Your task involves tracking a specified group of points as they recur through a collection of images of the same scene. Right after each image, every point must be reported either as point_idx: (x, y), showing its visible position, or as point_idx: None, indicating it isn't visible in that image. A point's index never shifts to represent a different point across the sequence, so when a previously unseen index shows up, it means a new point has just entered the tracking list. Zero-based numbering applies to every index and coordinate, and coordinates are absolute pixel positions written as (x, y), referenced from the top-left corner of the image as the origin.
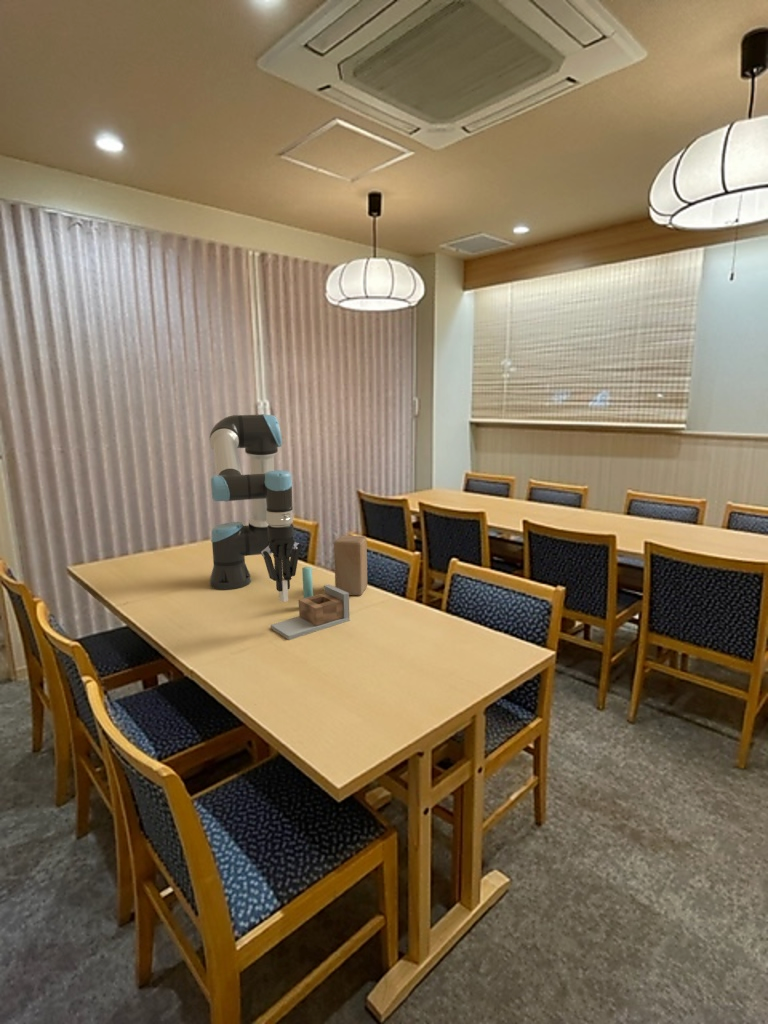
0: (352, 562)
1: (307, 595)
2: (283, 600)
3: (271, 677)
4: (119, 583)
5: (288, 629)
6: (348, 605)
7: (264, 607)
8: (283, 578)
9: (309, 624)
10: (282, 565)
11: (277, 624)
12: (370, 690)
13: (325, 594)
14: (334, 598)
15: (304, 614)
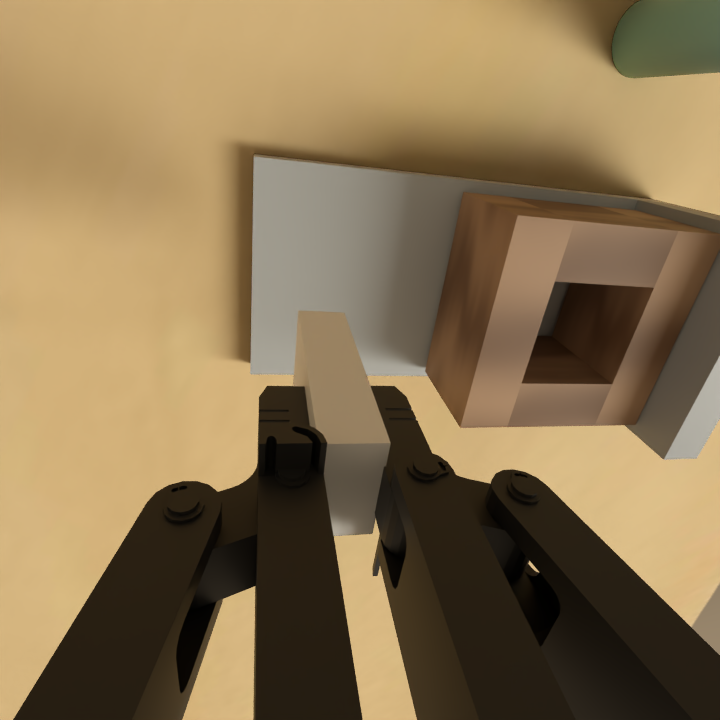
0: None
1: (699, 56)
2: (294, 385)
3: (19, 580)
4: None
5: (297, 304)
6: None
7: None
8: (383, 464)
9: (420, 324)
10: (452, 656)
11: (290, 189)
12: (249, 716)
13: (693, 268)
14: (649, 367)
15: (460, 265)
